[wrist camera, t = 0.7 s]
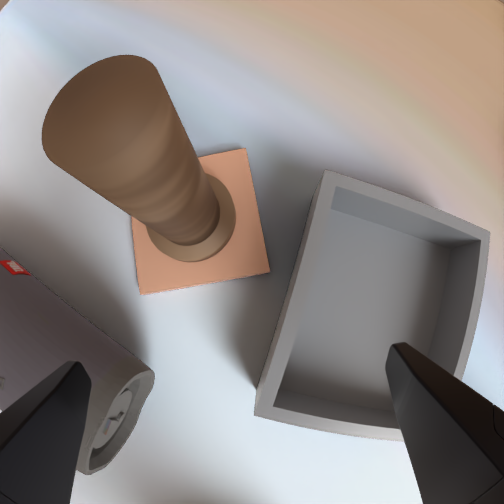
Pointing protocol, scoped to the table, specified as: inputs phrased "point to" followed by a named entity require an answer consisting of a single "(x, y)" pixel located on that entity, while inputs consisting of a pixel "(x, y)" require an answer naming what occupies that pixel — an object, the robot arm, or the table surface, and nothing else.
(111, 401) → the bluetooth speaker
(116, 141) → the walnut handle
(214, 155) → the terracotta tile
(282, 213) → the table surface
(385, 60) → the table surface
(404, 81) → the table surface
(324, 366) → the box
